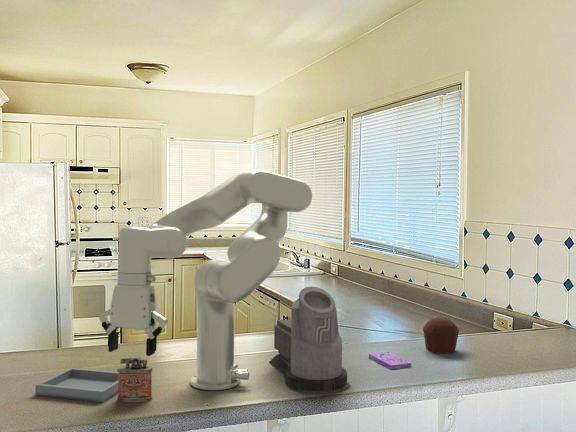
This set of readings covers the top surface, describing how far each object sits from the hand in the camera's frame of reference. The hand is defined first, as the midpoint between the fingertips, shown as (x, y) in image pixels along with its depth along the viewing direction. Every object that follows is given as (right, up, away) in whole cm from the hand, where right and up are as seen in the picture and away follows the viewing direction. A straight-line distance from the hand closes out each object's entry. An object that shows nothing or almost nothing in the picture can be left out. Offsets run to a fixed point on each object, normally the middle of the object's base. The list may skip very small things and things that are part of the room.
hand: (131, 352), depth 132 cm
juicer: (+42, -11, +20) cm, 48 cm away
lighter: (+1, -11, +1) cm, 11 cm away
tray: (-13, -11, +7) cm, 19 cm away
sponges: (+66, -12, +33) cm, 75 cm away
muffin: (+85, -11, +47) cm, 98 cm away
